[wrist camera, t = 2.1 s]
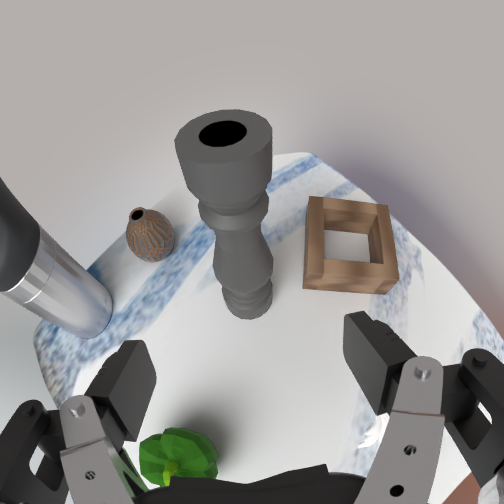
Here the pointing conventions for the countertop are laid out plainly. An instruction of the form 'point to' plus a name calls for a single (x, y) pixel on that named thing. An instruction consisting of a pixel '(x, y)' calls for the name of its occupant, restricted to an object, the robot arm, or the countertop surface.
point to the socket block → (349, 272)
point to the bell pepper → (177, 456)
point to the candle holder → (233, 200)
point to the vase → (149, 235)
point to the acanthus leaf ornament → (375, 430)
